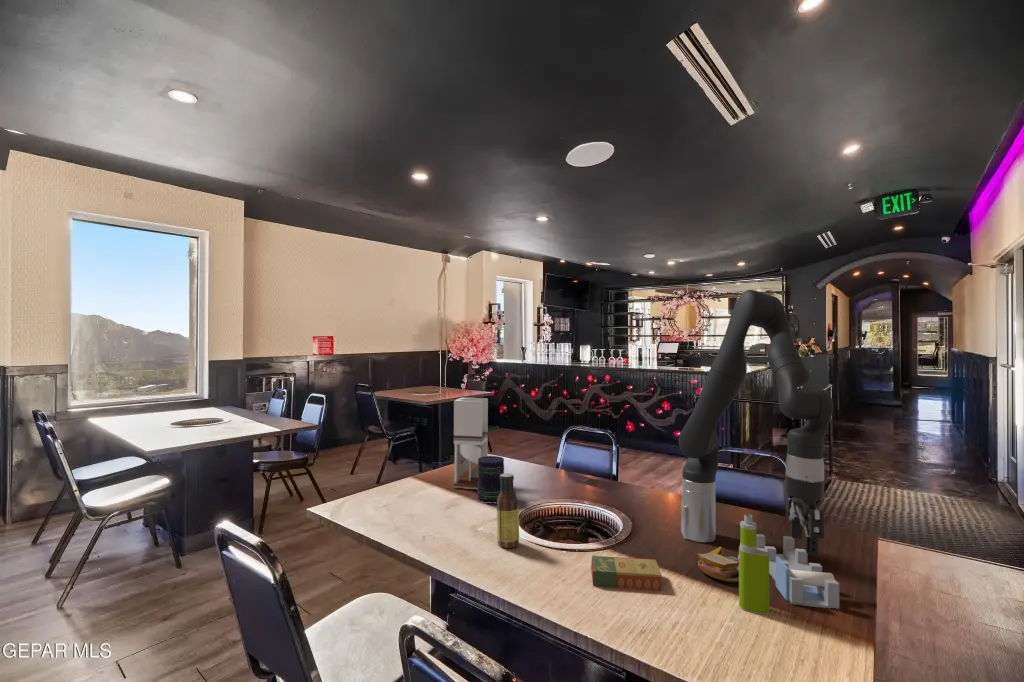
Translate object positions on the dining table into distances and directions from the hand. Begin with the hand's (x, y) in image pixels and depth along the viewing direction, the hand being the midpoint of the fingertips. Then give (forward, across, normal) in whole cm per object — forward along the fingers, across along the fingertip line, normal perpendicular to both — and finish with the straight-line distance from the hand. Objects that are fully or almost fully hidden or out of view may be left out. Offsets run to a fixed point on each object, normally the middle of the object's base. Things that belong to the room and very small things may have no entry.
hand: (803, 545), depth 107 cm
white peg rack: (+11, -8, 0) cm, 14 cm away
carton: (+12, +2, -40) cm, 42 cm away
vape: (+12, +8, -13) cm, 19 cm away
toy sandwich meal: (+12, -8, -15) cm, 21 cm away
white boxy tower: (+13, -64, -99) cm, 118 cm away
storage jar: (+13, -49, -86) cm, 100 cm away
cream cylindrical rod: (+9, 0, +1) cm, 9 cm away
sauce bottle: (+12, -12, -72) cm, 74 cm away
